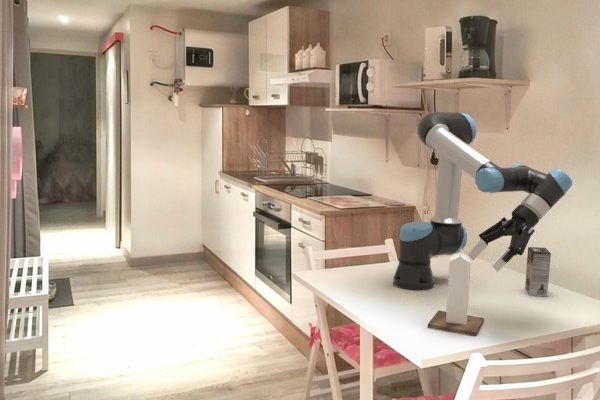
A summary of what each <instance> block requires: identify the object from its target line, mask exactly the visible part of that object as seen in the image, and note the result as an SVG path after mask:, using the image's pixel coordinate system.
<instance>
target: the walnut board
mask: <svg viewBox="0 0 600 400" xmlns="http://www.w3.org/2000/svg"><path fill="white" fill-rule="evenodd" d="M446 315H447V310H437V312H436V313H435V314H434V315H433V317H432V318H431V319H430V320H429V322H428V323H427V328H428V329H433V330H439V331H444V332H445V331H446V332H451V333H454V334H455V333H457V334H462V335H467V336H472V337H477V336H478V334H479V332H480V330H481V328H482V326H483V324H484V323H485V317H483V316H476V315H468V314H467V325H463V324H455V323H447V322H446Z"/></svg>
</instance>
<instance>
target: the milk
mask: <svg viewBox="0 0 600 400" xmlns="http://www.w3.org/2000/svg"><path fill="white" fill-rule="evenodd" d="M471 260H472V259H471V258H470V257H469V256H468V255H466V254H465V253H463V252H462V250H461V251H460V252H458V253H455V254H454V255H452V256H451V255H450V257H449V265H448V280H447V281H448V284H447V299H446V300H447V302H446V312H447V315H446V322H447V323H455V324H463V325H467V315H468V312H469V311H468V309H469V296H470V295H469V293H470V279H471V276H470V275H471V265H472V264H471Z"/></svg>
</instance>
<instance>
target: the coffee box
mask: <svg viewBox="0 0 600 400" xmlns="http://www.w3.org/2000/svg"><path fill="white" fill-rule="evenodd" d="M551 256H552V254H551V252H550V251H549V250H548V248H546V247H537V246H536V247H535V246H528V247H527V255H526V257H527V260H526V268H525V269H526V272H525V284H524V285H525V286H524V289H525V290H526V292H527V293H528V295H529V296H533V297H547V298H548V291H549V278H550V269H551V268H550V267H551V258H552V257H551Z"/></svg>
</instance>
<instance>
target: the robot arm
mask: <svg viewBox="0 0 600 400" xmlns="http://www.w3.org/2000/svg"><path fill="white" fill-rule="evenodd" d="M416 132H417V136H418V138H419V141H421V143H422V144H424V145H425V146H426V147H427V148H429V149H431V150H437V152H439V157H438V169H437V171H438V173H437V184H436V185H437V186H436V196H435V197H436V198H435V210H434V215H433V216H432V217H431V218H430V222H428V221H412V222H411V221H410V222H407V223H405V224H403V225H402V226H401V227H400V233H399V236H398V237H399V251H398V252H399V253H398V265H397V268H396V270H395V272H394V274H393V275H394V276H393V278H392V279H393V281H392V283H393V285H394V286H396V287H398V288H400V289H405V290H412V291H425V290H426V291H427V290H430V289H433V288H434V287H435V278H434V274H433V271H432V266H431V258H432V257H436V256H446V255H447V256H451V255H453V254H454V255H455V254H458V253H460V251H461V252H462V250H464V249H465V246H466V244H467V241H468V233H467V231H466V227H465V226H463V225H462V223H463V221H462V220H461V218H460V217H459V209H460V208H459V207H460V196H461V186H462V175H463V174H462V173H463V171H464V172H465V173H466V174H468V175H469V176H470V177H471V178H473V179H474V183H475V185H476V187H477V189H478V190H479V191H480V192H482V193H489V194H494V193H495V194H496V193H503V192H504V193H506V192H507V193H511V192H512V193H513V192H523V193H524V192H525V193H527V194H528V195H526V196H525V198H524V199H523V200H522V201H521V202H520V204H518V205H517V206H516V207H515V208H514V209H513V210H512V212H511V218H510V219H507V218H506V216H505V217H502V218H501V219H500V220H499V221H498V222H497V223H495V224H493V225H491V226H490V227H488V228H487V229H485V230H483V232H481V233H479V235H478V237H479V238H480V240H479V241H478V242H477V243H476V244H475V245H474V246H473V247H472V248H471V249H470V251H468V252H467V257H469V258H470V259H471V260H472V261H475V259H476V258H477V257H479V255H480V254H481V253H483V251H484V250H485V249H486V248H487V247H488V246H489V243H491V242H494V241H496V240H498V239H501V238H502V237H510V243H509V246H508V247H507V248H506V249H505V250H504V251H503V252H502V253H501V254H500V255H499V256H498V257H497V258H496V259H495V260H494V262H493V263H491V266H492V267H493V269H494V270H495V271H496V272H500V271H501V269H502V268H503V267H504V266H505V265H506V264H507V263H508V262H509V261H510V260H512V258H514V256H517V255H518V256H522V255H523V254H524V252H525V250H526V248H527V245H528V243H529V240H531V239H530V238H531V237H532V235H534V233H535V229H534V228H535V227H536V225H537V224H538V223H539V222H540V220H541V219H542V218H544V216H545V215H546V214H547V213H548V212H549V211H551V209H552V207H554V206H555V204H557V203H558V202H559V201H560V200H561V199H562V198H563V197H564V196H565V195H566V193H567V192H568V191H569V190H571V188H572V186H573V180H572V178H571V177H570V175H568V174H567V173H566V172H565V171H563V170H561V169H559V168H553V169H552V170H551V171H549V172H548V173H545V172H542V171H539V170H536V169H534V168H533V167H532V168H531V167H530V166H528V165H525V164H520V163H514V164H513V165H511V166H509V167H501V166H499V165H497V164H496V163H495V162H493V161H492V160H490V159H489V158H487V157H486V156H485V155H483V154H481V153H480V152H479V151H477V150H476V149H475V148H473V147H472V146H470V144H471V143H473V142H474V140H475V139H476V137H477V125H476V122H475V121H474V119H473V118H472V117H471V115H469V114H467V113H463V112H458V111H457V112H446V111H445V112H442V111H432V112H428V113H426V114H425V115H424V116H422V117H421V119H420V120H419V122H418V125H417V130H416Z"/></svg>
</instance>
